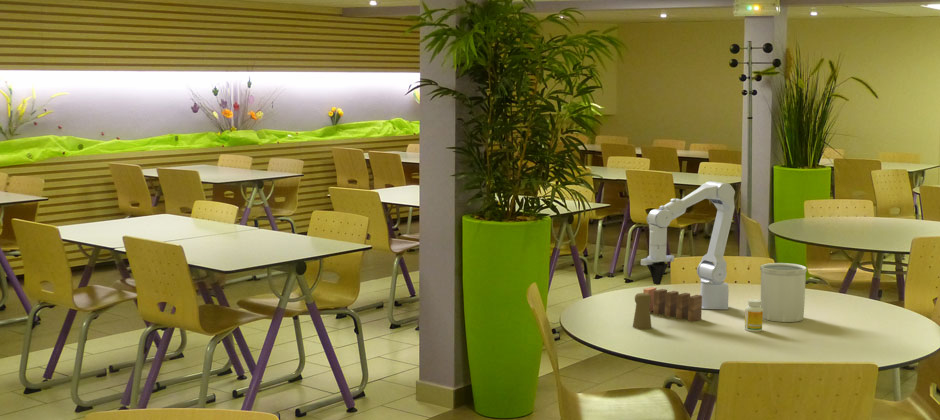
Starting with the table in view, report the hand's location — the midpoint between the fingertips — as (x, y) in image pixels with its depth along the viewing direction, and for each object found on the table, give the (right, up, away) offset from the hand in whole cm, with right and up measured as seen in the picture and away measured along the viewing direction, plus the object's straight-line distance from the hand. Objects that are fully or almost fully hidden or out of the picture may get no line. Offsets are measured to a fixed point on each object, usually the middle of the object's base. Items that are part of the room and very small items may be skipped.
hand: (656, 284), depth 338 cm
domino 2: (+1, -10, 0) cm, 10 cm away
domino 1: (-2, -10, +3) cm, 10 cm away
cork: (-8, -13, -19) cm, 25 cm away
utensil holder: (+41, -11, -6) cm, 42 cm away
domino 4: (+8, -11, -6) cm, 15 cm away
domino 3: (+4, -10, -3) cm, 12 cm away
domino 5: (+11, -11, -9) cm, 18 cm away
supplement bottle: (+26, -13, -23) cm, 37 cm away
